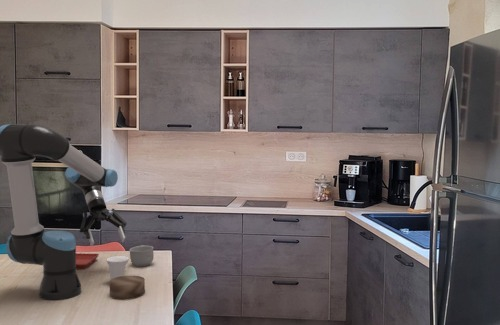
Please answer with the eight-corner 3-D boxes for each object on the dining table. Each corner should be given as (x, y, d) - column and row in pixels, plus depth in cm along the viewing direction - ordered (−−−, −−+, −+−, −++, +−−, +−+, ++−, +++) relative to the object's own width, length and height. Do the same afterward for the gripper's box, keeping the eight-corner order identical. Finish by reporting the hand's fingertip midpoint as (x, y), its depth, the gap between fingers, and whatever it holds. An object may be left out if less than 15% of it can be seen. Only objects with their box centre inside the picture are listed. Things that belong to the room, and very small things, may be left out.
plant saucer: (86, 271, 222) (86, 263, 222) (46, 270, 223) (46, 263, 223) (99, 260, 241) (99, 253, 240) (62, 260, 241) (62, 253, 241)
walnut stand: (121, 301, 182) (121, 288, 182) (103, 293, 191) (103, 280, 191) (151, 293, 191) (151, 280, 191) (132, 285, 200) (132, 273, 200)
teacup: (150, 268, 226) (150, 250, 225) (126, 268, 226) (126, 250, 226) (157, 260, 240) (156, 243, 239) (134, 260, 240) (134, 243, 240)
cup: (106, 286, 200) (106, 261, 199) (106, 279, 209) (106, 256, 208) (129, 284, 202) (129, 260, 201) (128, 278, 211) (128, 254, 210)
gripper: (120, 205, 234) (133, 243, 223) (65, 210, 219) (76, 251, 208) (124, 195, 229) (138, 233, 218) (68, 199, 214) (80, 240, 203)
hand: (108, 242), depth 213 cm, fingers open, 13 cm apart
